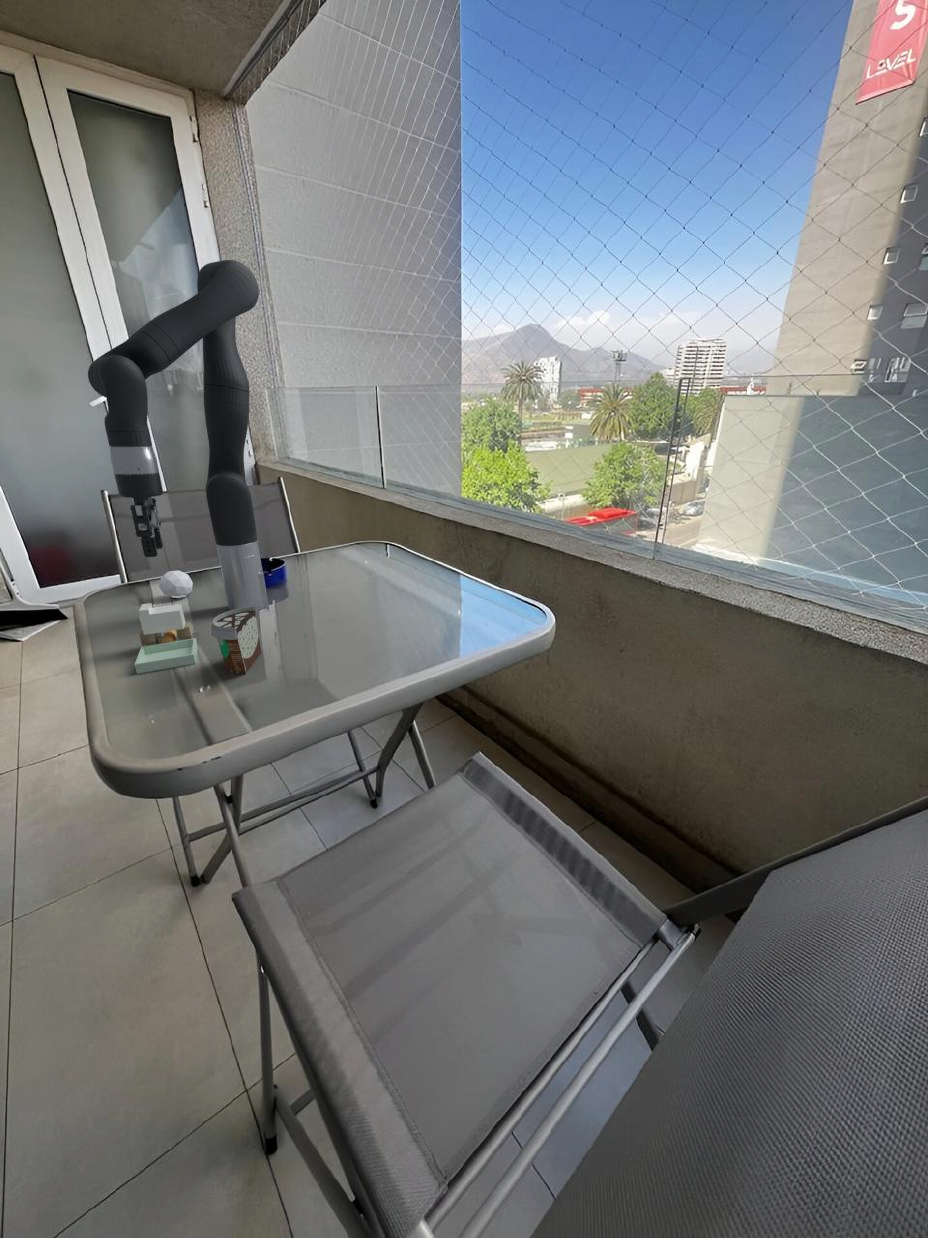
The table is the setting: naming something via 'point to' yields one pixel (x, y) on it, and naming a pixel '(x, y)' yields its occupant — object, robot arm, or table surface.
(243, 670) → the food container
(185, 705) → the table surface
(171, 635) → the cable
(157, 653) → the tray
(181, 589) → the ball
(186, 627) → the tan blocks
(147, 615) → the white notched block
